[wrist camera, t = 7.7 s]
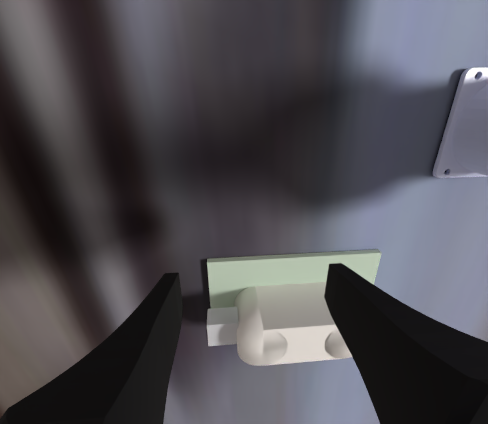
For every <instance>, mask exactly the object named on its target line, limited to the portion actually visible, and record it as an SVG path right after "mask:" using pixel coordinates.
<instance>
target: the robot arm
mask: <svg viewBox="0 0 488 424" xmlns="http://www.w3.org/2000/svg"><path fill="white" fill-rule="evenodd" d="M476 73H477V77H476V78H475V74H476ZM445 170H447V171H446V173H444V172H445ZM433 176H434V177H437V178H457V177H486V176H488V68H468V69H466V70H465V71H464V72H463V73H462V75H461V78H460V81H459V85H458V88H457V91H456V95H455V98H454V102H453V105H452V108H451V112H450V115H449V118H448V122H447V125H446V129H445V132H444V135H443V139H442V142H441V145H440V149H439V152H438V155H437V159H436V162H435V166H434V169H433ZM324 298H325V301H326V304H327V307H328V309H329V312H330V314H331V317H332V319H333V321H334V323H335V325H336V327H337V328H338V330H339V332H340V334H341V336H342V338H343V340H344V342H345V344H346V345H347V347H348V349H349V351H350V353H351V355H352V357H353V359H354V361H355V363H356V365H357V367H358V369H359V371H360V374H361V376H362V378H363V381H364V383H365V386H366V388H367V390H368V393H369V395H370V398H371V401H372V403H373V406H374V408H375V411H376V413H377V416H378V419H379V421H380V424H488V342H486V341H483V340H481V339H478V338H475V337H473V336H470V335H468V334H465V333H463V332H461V331H458V330H456V329H454V328H451V327H449V326H447V325H445V324H443V323H440V322H438V321H436V320H434V319H432V318H430V317H428V316H426V315H424V314H422V313H420V312H418V311H416V310H414V309H412V308H411V307H409V306H407V305H405V304H403V303H402V302H400V301H398V300H397V299H395V298H393V297H392V296H390V295H389V294H387V293H385V292H384V291H382V290H381V289H379V288H378V287H376V286H375V285H373V284H372V283H370V282H369V281H367V280H366V279H364V278H363V277H361V276H360V275H359V274H357V273H356V272H354V271H353V270H351V269H350V268H348V267H347V266H345V265H344V264H342V263H333V264H329V268H328V274H327V281H326V287H325V294H324ZM182 312H183V302H182V295H181V288H180V280H179V273H165V274H164V275H163V276H162V278H161V279H160V280H159V282H158V283H157V284H156V285H155V287H154V288H153V289H152V291H151V292H150V293H149V294H148V295H147V297H146V298H145V299H144V300H143V301H142V303H141V304H140V305H139V306H138V307H137V308H136V310H135V311H134V312H133V313H132V314H131V315H130V316H129V317H128V318H127V319H126V320H125V321H124V322H123V323H122V324H121V325H120V326H119V327H118V328H117V329H116V330H115V331H114V332H113V333H112V334H111V335H110V336H109V337H108V338H107V339H106V340H104V341H103V342H102V343H101V344H100V345H98V346H97V347H96V348H95V349H94V350H92V351H91V352H90V353H89V354H87V355H86V356H85V357H84V358H82V359H81V360H80V361H79V362H77V363H76V364H75V365H73V366H72V367H70V368H69V369H68V370H66V371H65V372H64V373H62V374H61V375H59V376H58V377H56V378H55V379H53V380H52V381H51V382H49V383H48V384H46V385H45V386H43V387H41V388H40V389H38V390H37V391H35V392H33V393H32V394H30V395H29V396H27V397H25V398H24V399H22V400H21V401H19V402H18V403H16V404H14V405H13V406H11V407H9V408H8V409H7V410H6V412H5V413H4V415H3V416H2V417H1V419H0V424H163V420H164V412H165V404H166V397H167V389H168V384H169V378H170V374H171V369H172V365H173V360H174V356H175V352H176V347H177V343H178V338H179V334H180V329H181V322H182Z"/></svg>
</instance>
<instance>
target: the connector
mask: <svg viewBox="0 0 488 424" xmlns="http://www.w3.org/2000/svg"><path fill="white" fill-rule="evenodd" d="M325 287H326V282H314V283H299V284H283V285H267V286H253V287H249V288H246V289H244V290H243V291H241V292H240V293H239V294H238V295H237V297H236V299H235V302H234V307H228V308H213V309H208V312H207V333H208V345H209V346H216V345H228V344H237V348H238V355H239V357H240V358H241V359H242V360H243V361H244V362H246V363H248V364H250V365H255V366H264V365H275V364H287V363H298V362H309V361H320V360H332V359H343V358H350V357H352V355H351V353H350V351H349V349H348V347H347V345H346V344H345V342H344V340H343V338H342V336H341V334H340V332H339V330H338V328H337V327H336V325H335V323H334V321H333V319H332V317H331V314H330V312H329V309H328V307H327V304H326V301H325V298H324V294H325Z"/></svg>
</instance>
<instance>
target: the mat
mask: <svg viewBox="0 0 488 424" xmlns="http://www.w3.org/2000/svg"><path fill="white" fill-rule="evenodd" d="M380 257H381V252H380V251H379V250H378V249H374V250H356V251H338V252H320V253H302V254H284V255H265V256H247V257H229V258H211V259H207V268H208V281H209V293H210V306H211V309H213V308H228V307H234V302H235V299H236V297H237V295H238V294H239V293H240V292H241V291H243V290H244V289H246V288H249V287H253V286H267V285H283V284H299V283H314V282H326V281H327V274H328V268H329V264H333V263H342V264H344V265H345V266H347V267H348V268H350V269H351V270H353V271H354V272H356V273H357V274H359V275H360V276H361V277H363V278H364V279H366V280H367V281H369V282H370V283H372V284H373V285H374V281H375V277H376V273H377V269H378V265H379V261H380Z"/></svg>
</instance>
